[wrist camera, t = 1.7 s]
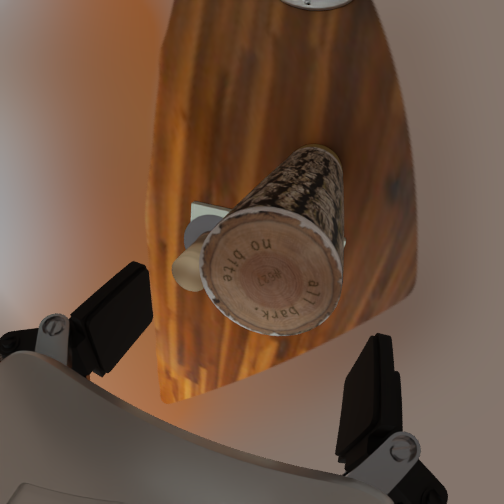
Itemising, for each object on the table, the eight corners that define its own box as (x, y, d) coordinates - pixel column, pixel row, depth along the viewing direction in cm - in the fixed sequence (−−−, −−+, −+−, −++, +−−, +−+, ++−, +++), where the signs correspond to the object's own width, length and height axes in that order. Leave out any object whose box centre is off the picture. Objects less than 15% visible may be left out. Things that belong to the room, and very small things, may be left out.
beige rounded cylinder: (198, 227, 42) (171, 252, 35) (231, 235, 41) (207, 263, 34) (197, 256, 44) (172, 284, 37) (228, 265, 43) (206, 296, 36)
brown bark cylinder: (352, 180, 33) (366, 311, 12) (306, 204, 36) (250, 348, 15) (324, 133, 31) (290, 179, 10) (278, 160, 35) (173, 251, 14)
